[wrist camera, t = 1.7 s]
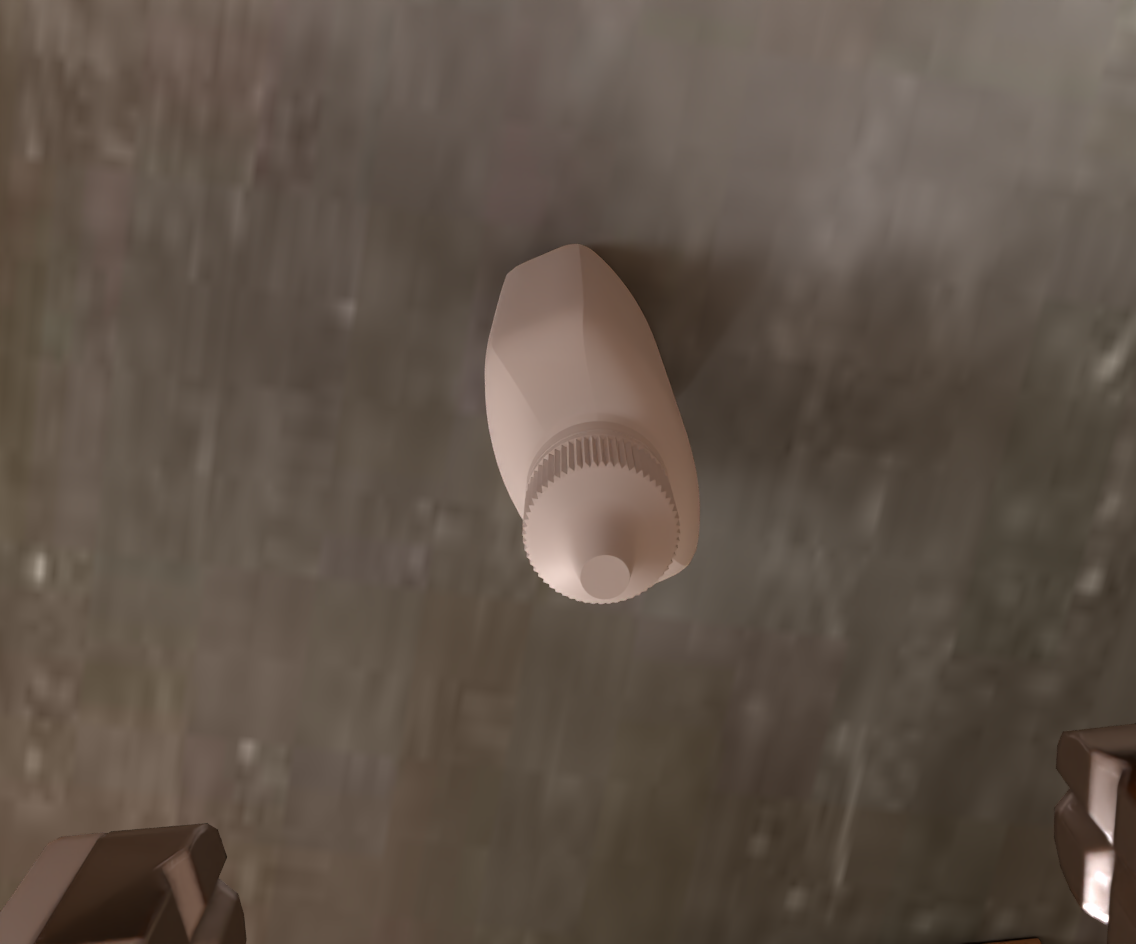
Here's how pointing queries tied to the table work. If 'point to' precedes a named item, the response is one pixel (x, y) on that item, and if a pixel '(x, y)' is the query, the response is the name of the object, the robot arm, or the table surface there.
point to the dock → (1019, 941)
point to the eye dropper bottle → (588, 430)
